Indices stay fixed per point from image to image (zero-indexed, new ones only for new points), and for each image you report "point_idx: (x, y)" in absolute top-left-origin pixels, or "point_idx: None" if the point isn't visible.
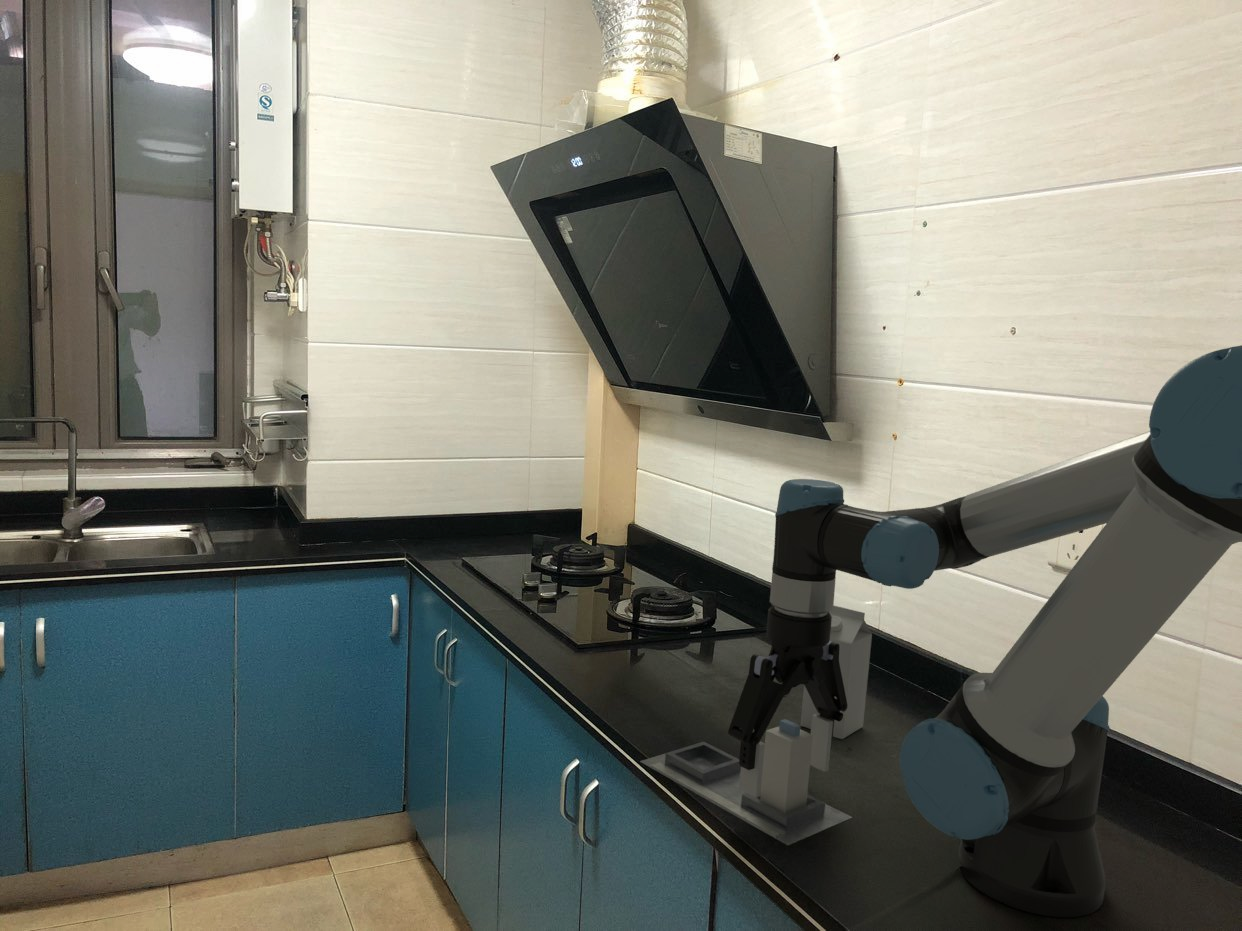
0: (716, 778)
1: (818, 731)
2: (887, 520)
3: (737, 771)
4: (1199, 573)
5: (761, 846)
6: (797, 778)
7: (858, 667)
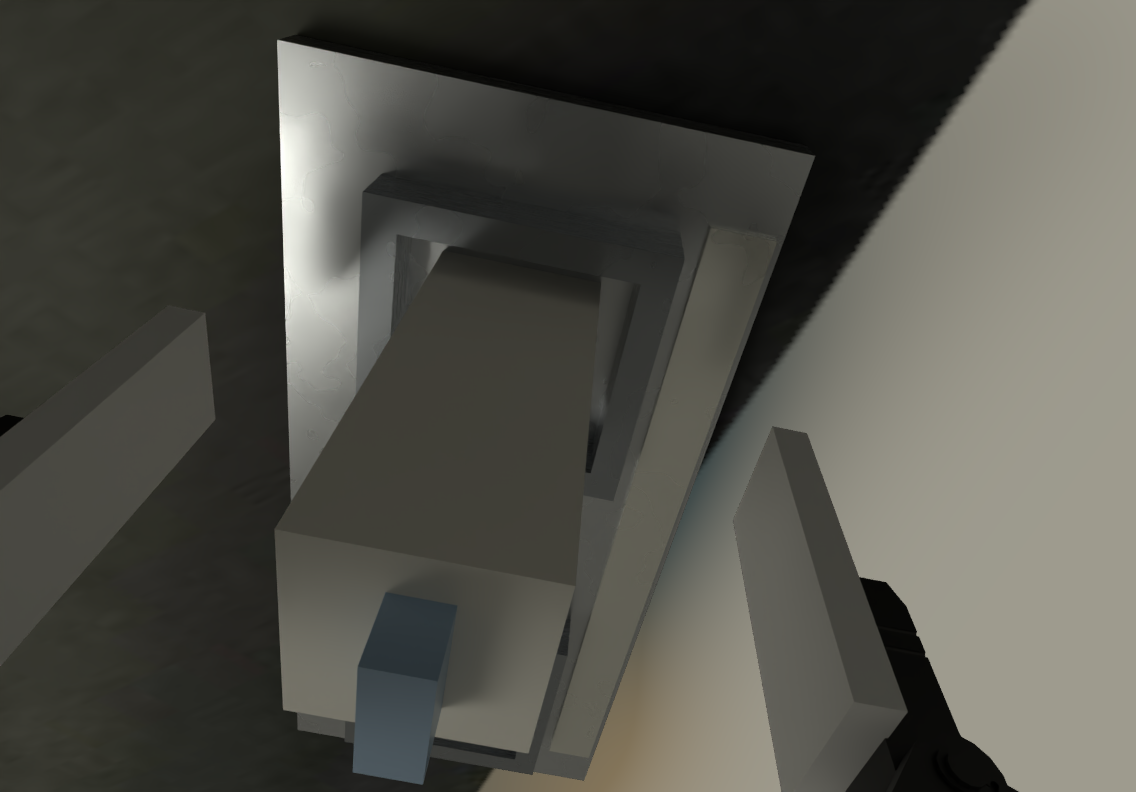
0: None
1: (64, 527)
2: None
3: None
4: None
5: (814, 265)
6: (500, 368)
7: None
